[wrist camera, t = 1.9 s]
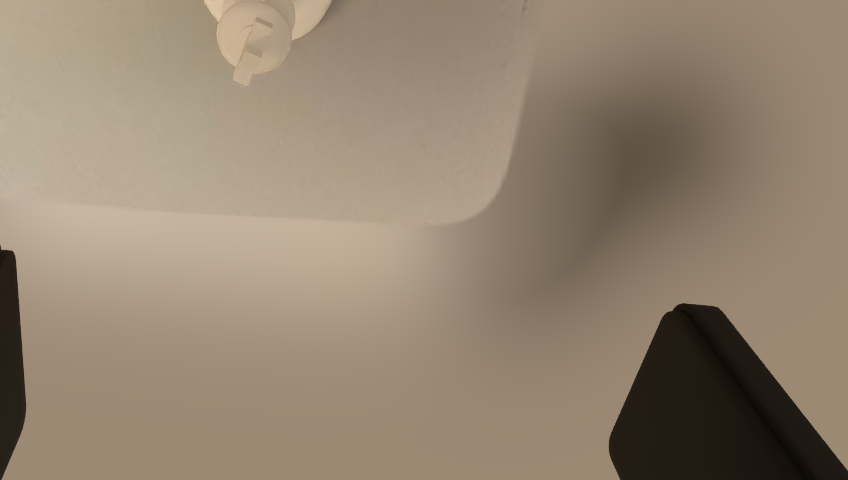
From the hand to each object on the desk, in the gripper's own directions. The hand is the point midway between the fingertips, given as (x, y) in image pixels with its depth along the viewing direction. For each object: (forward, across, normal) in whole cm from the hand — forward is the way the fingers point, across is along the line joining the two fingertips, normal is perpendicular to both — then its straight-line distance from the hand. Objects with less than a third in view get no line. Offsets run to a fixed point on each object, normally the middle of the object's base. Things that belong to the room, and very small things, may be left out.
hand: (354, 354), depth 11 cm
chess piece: (+20, +2, -1) cm, 21 cm away
